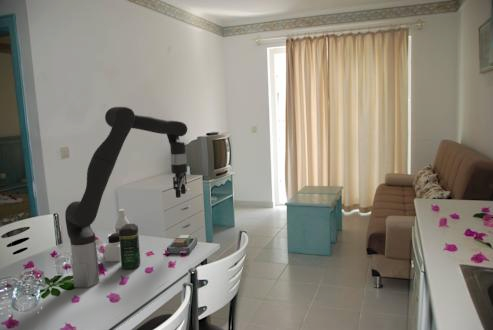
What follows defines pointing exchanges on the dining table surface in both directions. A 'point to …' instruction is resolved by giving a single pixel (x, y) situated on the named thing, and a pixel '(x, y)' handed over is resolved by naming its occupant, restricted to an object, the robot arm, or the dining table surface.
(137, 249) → the coffee jar
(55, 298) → the dining table surface
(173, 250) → the tray
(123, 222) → the bath foam
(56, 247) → the dining table surface
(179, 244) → the walnut block
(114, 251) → the medicine bottle
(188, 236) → the sage block
